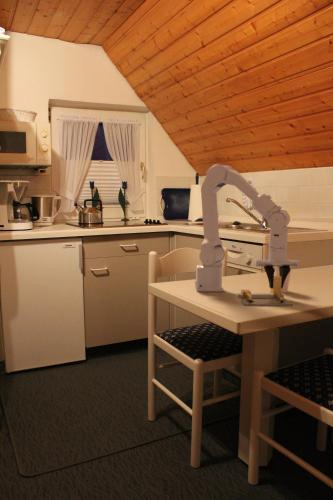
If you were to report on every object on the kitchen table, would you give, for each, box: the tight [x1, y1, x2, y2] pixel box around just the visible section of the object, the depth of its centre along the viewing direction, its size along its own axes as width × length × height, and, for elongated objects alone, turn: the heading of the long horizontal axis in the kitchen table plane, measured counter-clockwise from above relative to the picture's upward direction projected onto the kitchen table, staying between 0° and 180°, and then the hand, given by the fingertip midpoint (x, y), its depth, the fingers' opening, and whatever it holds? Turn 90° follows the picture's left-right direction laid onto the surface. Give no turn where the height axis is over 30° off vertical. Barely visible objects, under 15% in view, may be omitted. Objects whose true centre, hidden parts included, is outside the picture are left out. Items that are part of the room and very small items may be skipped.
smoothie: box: [273, 264, 294, 293], centre depth 148 cm, size 6×6×14 cm
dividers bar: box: [237, 289, 285, 301], centre depth 137 cm, size 15×9×2 cm, turn 91°
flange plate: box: [240, 298, 293, 307], centre depth 133 cm, size 15×6×1 cm, turn 91°
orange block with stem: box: [269, 275, 285, 301], centre depth 137 cm, size 3×9×7 cm, turn 1°
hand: (276, 287), depth 139 cm, fingers closed on orange block with stem, 2 cm apart
